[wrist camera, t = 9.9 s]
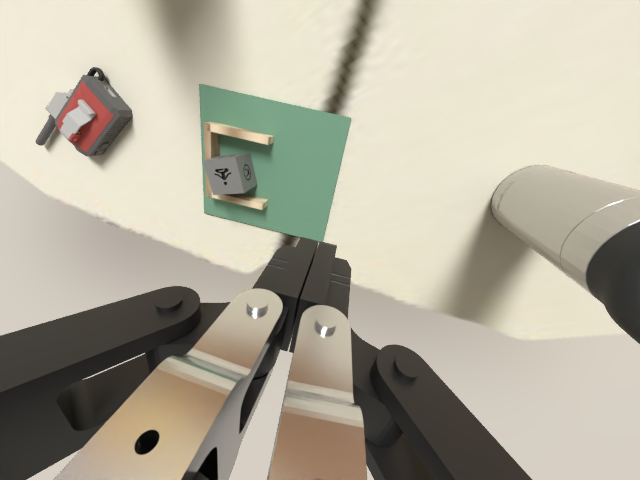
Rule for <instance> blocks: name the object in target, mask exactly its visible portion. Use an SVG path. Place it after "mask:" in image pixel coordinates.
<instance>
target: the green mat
mask: <svg viewBox="0 0 640 480" xmlns="http://www.w3.org/2000/svg"><path fill="white" fill-rule="evenodd" d="M199 91H200V116H201V141H202V166H203V191H204V213H206V214H210V215H214V216H218V217H222V218H226V219H230V220H234V221H238V222H242V223H246V224H250V225H254V226H258V227H262V228H266V229H270V230H274V231H278V232H282V233H286V234H290V235H293V236H297V237H305V238H309V239H313V240H317V241H318V242H320V241H321V242H323V238H324V234H325V230H326V225H327V221H328V217H329V212H330V208H331V204H332V199H333V195H334V191H335V186H336V182H337V178H338V173H339V169H340V165H341V160H342V156H343V152H344V147H345V143H346V139H347V134H348V130H349V126H350V121H351V118H349V117H344V116H340V115H335V114H331V113H326V112H322V111H317V110H313V109H309V108H304V107H300V106H295V105H291V104H286V103H282V102H277V101H273V100H268V99H264V98H259V97H255V96H251V95H246V94H242V93H237V92H233V91H228V90H224V89H219V88H215V87H210V86H206V85H202V84H199ZM204 122H216V123H220V124H224V125H229V126H233V127H237V128H242V129H246V130H250V131H255V132H259V133H263V134H268V135H272V136H274V143H272V144H269V145H266V144H262V143H257V142H253V141H249V140H245V139H240V138H236V137H232V136H228V135H223V134H220V155H229V154H240V153H251V157H252V162H253V167H254V171H255V176H256V180H257V185H256V186H254V187H253V188H251V189H250V190H248V191H247V192H245V193H244V194H248V195H252V196H256V197H260V198H264V199H268V205H267V206H266V207H265V208H264V209H263V210H260V209H256V208H252V207H248V206H244V205H240V204H236V203H231V202H227V201H223V200H219V199H215V198H211V197H207V196H206V178H205V166H204V163H203V160H205V149H204Z"/></svg>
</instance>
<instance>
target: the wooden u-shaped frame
mask: <svg viewBox="0 0 640 480" xmlns="http://www.w3.org/2000/svg"><path fill="white" fill-rule="evenodd" d="M220 134H223V135H228V136H232V137H236V138H240V139H245V140H249V141H253V142H257V143H262V144H266V145H269V144H272V143H274V136H272V135H268V134H263V133H259V132H255V131H250V130H246V129H242V128H237V127H233V126H229V125H224V124H220V123H216V122H204V149H205V160H206V159H209V158H213V157H217V156H220ZM205 178H206V196H207V197H211V198H215V199H219V200H223V201H227V202H231V203H236V204H240V205H244V206H248V207H252V208H256V209H260V210H263V209H264V208H265V207H266V206H267V205H268V199H264V198H260V197H256V196H252V195H248V194H244V193H239V194H222V195H213V192H212V189H211V186H210V183H209V179H208V176H207V173H206V170H205Z"/></svg>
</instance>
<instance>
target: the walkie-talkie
mask: <svg viewBox="0 0 640 480" xmlns="http://www.w3.org/2000/svg"><path fill="white" fill-rule="evenodd" d="M96 72H98V74H99V77H94V75H95V73H96ZM104 77H105V75H104V73H103V71H102V70H101V69H99V68H95V67H93V68H91V69H90V71H89V72H88V74H87V75H83V77H81V80H79V82H78V85H76V88H75V89H74V90H73V89H70V91H69V92H68V93H59V92H56V93H55V95H54V97H53V98H52V100H51V102H50V103H49V105H47V106H46V108H45V109H46V110H47V111H48V112H49V113H50V115H49V119H48V121H47V123H46V124H45V126H44V128H43V129H42V131H41V133H40V134H39V136H38V138H37V139H36V143H37V144H38V145H44V144H45V142H46V141H47V139H48V138H49V136H50V134H51V133H52V131H53V130H54V128H55V126H56V127H57V129H58V130H59V131H60V132H61V133H62V134H63V135H64V136H65V137H66V138H67V139H68V140H69V141H70V142H71V143H72V144H73V145H74V146H75V148H76V149H77V151H79V152H80V153H82V154H84V155H86V156H94V155H100V154H103V153H104V151H105V150H106V149H107V148H108V146H109V145H110V144H111V143H112V142H113V140H114V138H116V136H117V134H119V132H121V130H122V128H124V126H125V125H126V123H128V121H129V119H131V117H133V115H132V110H131V109H130V108H129V106H128V105H127V104H126V103H125V102H124V101H123V99H122V98H121V97H120V96H119V95H118V94H117V92H116V91H115V90H114V89H113V88H112V87H111V85H110V84H109V83H108V82H107V81H106V80H105V78H104Z"/></svg>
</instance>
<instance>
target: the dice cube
mask: <svg viewBox="0 0 640 480" xmlns="http://www.w3.org/2000/svg"><path fill="white" fill-rule="evenodd" d="M203 163H204V166H205V170H206V173H207V176H208V179H209V183H210V186H211V189H212V192H213V195H222V194H239V193H245V192H247V191H248V190H250V189H251V188H253V187H254V186H256V185H257V180H256V176H255V171H254V167H253V162H252V157H251V153H240V154H229V155H220V156H217V157H213V158H209V159H206V160H203Z"/></svg>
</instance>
